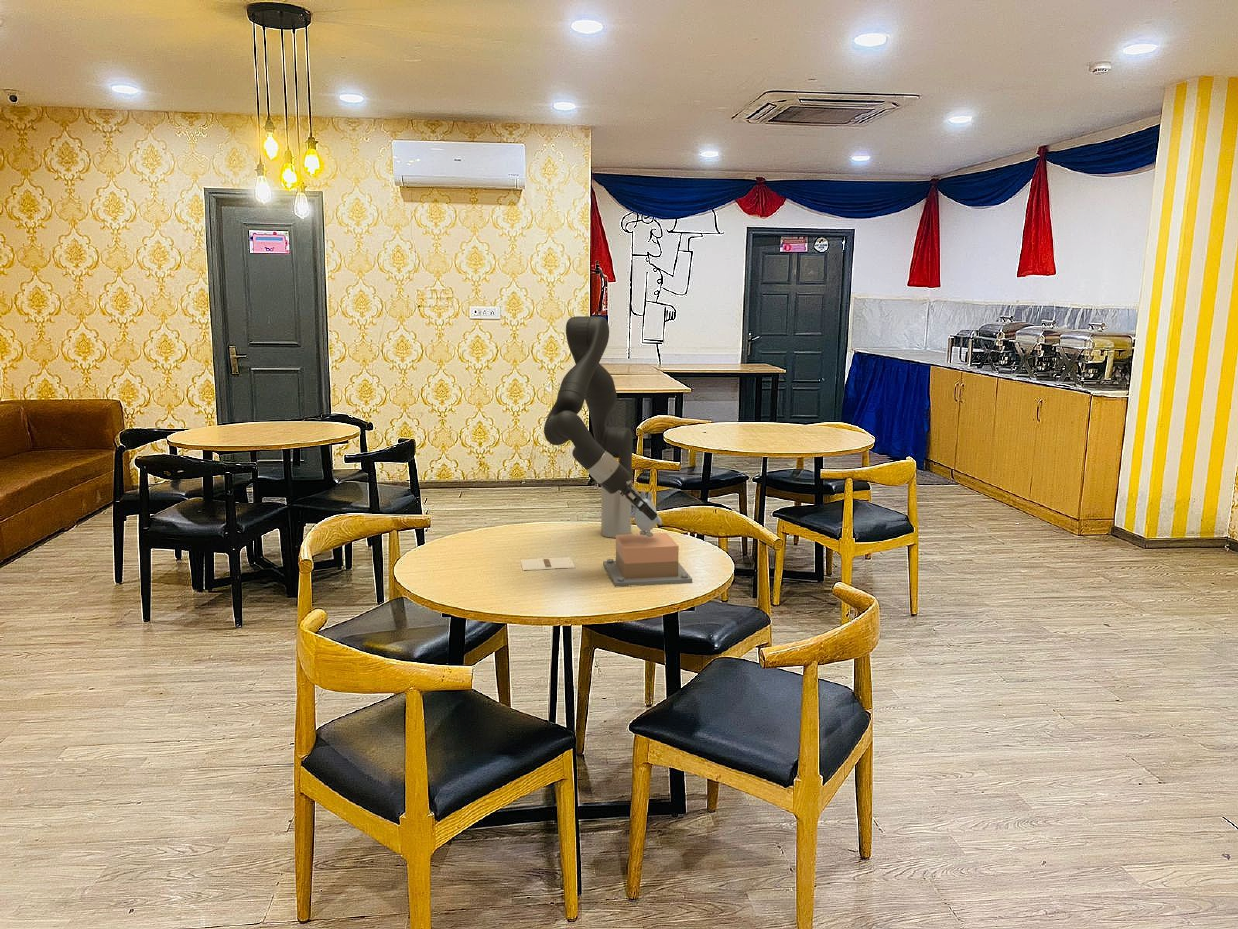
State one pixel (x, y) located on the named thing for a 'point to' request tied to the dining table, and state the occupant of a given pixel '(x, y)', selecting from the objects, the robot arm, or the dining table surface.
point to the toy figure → (645, 517)
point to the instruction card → (547, 563)
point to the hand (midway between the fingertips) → (651, 514)
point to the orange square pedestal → (646, 561)
